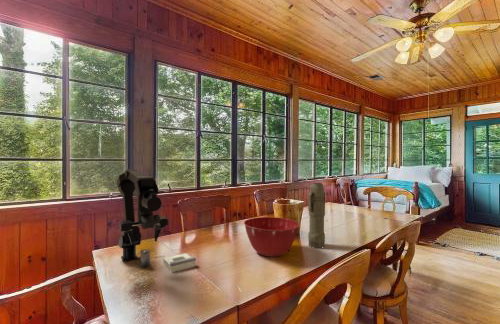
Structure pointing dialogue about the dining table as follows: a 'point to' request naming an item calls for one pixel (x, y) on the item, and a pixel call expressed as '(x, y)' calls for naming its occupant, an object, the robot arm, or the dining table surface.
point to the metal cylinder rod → (145, 258)
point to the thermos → (316, 215)
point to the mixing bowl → (271, 234)
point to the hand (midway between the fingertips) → (144, 243)
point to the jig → (179, 262)
